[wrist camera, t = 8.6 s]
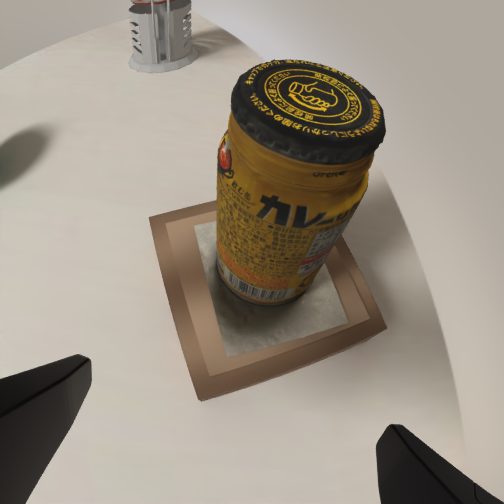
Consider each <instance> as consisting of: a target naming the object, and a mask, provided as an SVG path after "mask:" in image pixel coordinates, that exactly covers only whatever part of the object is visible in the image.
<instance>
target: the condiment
mask: <svg viewBox="0 0 504 504" xmlns="http://www.w3.org/2000/svg"><path fill="white" fill-rule="evenodd" d="M385 133H386V128H385V119H384V115H383V109H382V108H381V106H380V105H379V103H378V102H377V100H376V98H375V96H373V95H372V94H371V93H370V92H369V91H368V90H367V89H366V88H365V87H364V86H363V85H361V84H360V83H359V82H357V81H356V80H354V79H353V78H352V77H350V76H348V75H346V74H344V73H342V72H339V71H338V70H336V69H333V68H330V67H328V66H324V65H321V64H317V63H312V62H307V61H302V60H273V61H271V62H266V63H264V64H259V65H256V66H255V67H253V68H251V69H250V70H248V71H247V72H246V73H244V74H242V75H241V76H240V77H239V79H238V81H237V83H236V85H235V86H234V88H233V91H232V95H231V113H230V117H229V123H228V129H227V131H226V133H225V134H224V136H223V138H222V140H221V142H220V146H219V148H218V156H217V158H218V162H217V209H216V211H217V214H216V215H217V219H216V220H217V221H214V222H209V223H204V224H199V225H195V226H194V228H195V233H196V237H197V241H198V246H199V250H200V254H201V258H202V263H203V267H204V271H205V275H206V279H207V283H208V287H209V291H210V295H211V298H212V302H213V306H214V310H215V314H216V318H217V322H218V326H219V329H220V333H221V336H222V340H223V344H224V348H225V351H226V355H227V357H230V356H234V355H238V354H242V353H247V352H251V351H255V350H259V349H263V348H266V347H270V346H274V345H278V344H281V343H285V342H288V341H292V340H295V339H299V338H303V337H305V336H309V335H312V334H315V333H318V332H322V331H325V330H328V329H331V328H334V327H337V326H340V325H343V324H346V323H348V320H347V318H346V315H345V312H344V309H343V307H342V304H341V302H340V299H339V296H338V293H337V291H336V289H335V287H334V284H333V282H332V278H331V276H330V274H329V272H328V269H327V267H326V265H325V263H324V262H325V261H326V259H327V257H328V255H329V254H330V252H331V250H332V249H333V247H334V246H335V244H336V242H337V240H338V239H339V238H340V236H341V234H342V232H343V231H344V229H345V227H346V226H347V224H348V223H349V221H350V219H351V217H352V216H353V214H354V212H355V210H356V209H357V206H358V205H359V203H360V201H361V199H362V198H363V196H364V194H365V192H366V190H367V187H368V176H369V173H368V169H369V168H370V167H371V164H372V162H373V158H374V152H375V150H376V149H377V148H378V147H379V144H380V143H382V142H383V139H384V136H385ZM305 294H306V296H304V295H305ZM303 301H304V302H303ZM302 302H303V304H302Z"/></svg>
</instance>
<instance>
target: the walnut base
mask: <svg viewBox="0 0 504 504" xmlns="http://www.w3.org/2000/svg"><path fill="white" fill-rule="evenodd" d="M216 209H217V200H216V201H211V202H207V203H203V204H199V205H195V206H191V207H187V208H183V209H179V210H175V211H171V212H167V213H163V214H159V215H156V216H152V217H149V221H150V226H151V230H152V235H153V239H154V244H155V248H156V253H157V257H158V261H159V265H160V270H161V274H162V278H163V282H164V286H165V289H166V293H167V297H168V301H169V305H170V308H171V312H172V316H173V319H174V323H175V326H176V330H177V333H178V337H179V340H180V344H181V347H182V350H183V354H184V357H185V360H186V363H187V367H188V370H189V373H190V376H191V379H192V382H193V385H194V388H195V391H196V394H197V397H198V400H200V401H205V400H208V399H212V398H215V397H219V396H222V395H225V394H228V393H232V392H235V391H238V390H241V389H244V388H247V387H250V386H253V385H256V384H259V383H262V382H265V381H268V380H270V379H273V378H276V377H279V376H282V375H284V374H287V373H290V372H292V371H295V370H298V369H300V368H303V367H305V366H308V365H311V364H313V363H316V362H318V361H321V360H323V359H325V358H328V357H330V356H333V355H335V354H337V353H340V352H342V351H344V350H347V349H349V348H351V347H354V346H356V345H358V344H360V343H362V342H365V341H367V340H369V339H370V338H372V337H374V336H375V335H377V334H379V333H380V332H382V331H384V330H385V329H387V326H386V324H385V322H384V320H383V318H382V316H381V313H380V311H379V309H378V307H377V305H376V303H375V301H374V298H373V296H372V294H371V292H370V290H369V288H368V286H367V284H366V282H365V280H364V278H363V276H362V274H361V272H360V270H359V268H358V266H357V264H356V262H355V260H354V258H353V256H352V254H351V252H350V250H349V248H348V246H347V244H346V242H345V241H344V239H343V237H342V235H341V236H340V238H339V239H338V240H337V242H336V244H335V246H334V247H333V249H332V250H331V252H330V254H329V255H328V257H327V259H326V261H325V262H324V263H325V265H326V267H327V269H328V272H329V274H330V276H331V278H332V282H333V284H334V287H335V289H336V291H337V293H338V296H339V299H340V302H341V304H342V307H343V309H344V312H345V315H346V318H347V320H348V323H346V324H343V325H340V326H337V327H334V328H331V329H328V330H325V331H322V332H318V333H315V334H312V335H309V336H305V337H303V338H299V339H295V340H292V341H288V342H285V343H281V344H278V345H274V346H270V347H266V348H263V349H259V350H255V351H251V352H247V353H242V354H238V355H234V356H230V357H227V355H226V351H225V348H224V344H223V340H222V336H221V333H220V329H219V326H218V322H217V318H216V314H215V310H214V306H213V302H212V298H211V295H210V291H209V287H208V283H207V279H206V275H205V271H204V267H203V263H202V258H201V254H200V250H199V246H198V241H197V237H196V233H195V228H194V226H195V225H199V224H204V223H209V222H214V221H217V220H216V219H217V215H216V214H217V211H216ZM304 296H306V294H305V295H304ZM303 302H304V301H303ZM303 302H302V304H303Z"/></svg>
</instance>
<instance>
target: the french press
mask: <svg viewBox="0 0 504 504" xmlns="http://www.w3.org/2000/svg"><path fill="white" fill-rule="evenodd" d="M131 1H132V2H133V3H134V4H135V5H133V6H132V7H131V8H130V9H129V18H130V19H132V20H133V21H134V22H130V26H131V27H132V28H133V29H134V30H131V34H132V36H133V37H134V38H132V42H133V44H134V45H135V46H133V51H134V53H133V54H132V55H131V57H130V59H129V61H128V64H129V67H130V68H131V69H133V70H135V71H137V72H145V73H159V72H167V71H171V70H176V69H180V68H182V67H184V66H186V65H189V64H191V63H192V62H193V61H194V60H195V59H196V58H198V50H197V49H196V48H195V47H194V46H193V45H191V37H190V36H191V30H189V29H190V27H191V22H188V21H189V20H190V19H191V13H190V14H188V13H189V11H190V10H191V0H131ZM145 13H146V14H145ZM187 14H188V15H187ZM183 19H186V20H185V21H184V23H183ZM138 25H139V29H138V28H137V27H136V26H138ZM184 27H187V28H186V29H185V30H183V28H184ZM138 33H139V34H140V37H138V36H137V35H136V34H138ZM187 34H188V35H187ZM184 35H187V37H186V38H183V37H184ZM189 37H190V38H189ZM138 41H139V42H140V43H141V44H137V43H136V42H138Z"/></svg>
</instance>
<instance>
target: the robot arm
mask: <svg viewBox="0 0 504 504" xmlns="http://www.w3.org/2000/svg"><path fill="white" fill-rule="evenodd" d="M91 382H92V370H91V360H90V359H89V358H88V357H85V356H83V355H80V354H76V355H73V356H70V357H67V358H64V359H61V360H58V361H55V362H52V363H49V364H46V365H43V366H40V367H37V368H34V369H31V370H27V371H24V372H21V373H18V374H15V375H12V376H8V377H5V378H2V379H0V504H26V502H27V500H28V498H29V496H30V495H31V493H32V491H33V489H34V488H35V486H36V484H37V483H38V481H39V479H40V477H41V476H42V474H43V472H44V471H45V469H46V467H47V466H48V464H49V462H50V461H51V459H52V457H53V456H54V454H55V452H56V451H57V449H58V447H59V446H60V444H61V443H62V441H63V439H64V438H65V436H66V435H67V433H68V431H69V430H70V428H71V426H72V424H73V422H74V420H75V418H76V416H77V414H78V412H79V410H80V407H81V405H82V403H83V401H84V399H85V397H86V395H87V393H88V391H89V389H90V386H91ZM376 457H377V473H378V487H379V494H380V500H381V504H504V502H502V501H501V500H499V499H497V498H496V497H494V496H493V495H491V494H490V493H488V492H487V491H486V490H484V489H483V488H482V487H480V486H479V485H478V484H476V483H474V482H473V481H472V480H471V479H470V478H468V477H467V476H466V475H464V474H463V473H462V472H461V471H459V470H458V469H457V468H455V467H454V466H453V465H452V464H450V463H449V462H448V461H446V460H445V459H444V458H443V457H441V456H440V455H439V454H438V453H436V452H435V451H434V450H433V449H431V448H430V447H429V446H428V445H426V444H425V443H424V442H423V441H421V440H420V439H419V438H418V437H416V436H415V435H414V434H413V433H411V432H410V431H409V430H408V429H406V428H405V427H404V426H403V425H400V424H390V425H389V426H388V427H387V428H386V429H385V431H384V433H383V434H382V436H381V437H380V439H379V440H378V442H377V444H376Z"/></svg>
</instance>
